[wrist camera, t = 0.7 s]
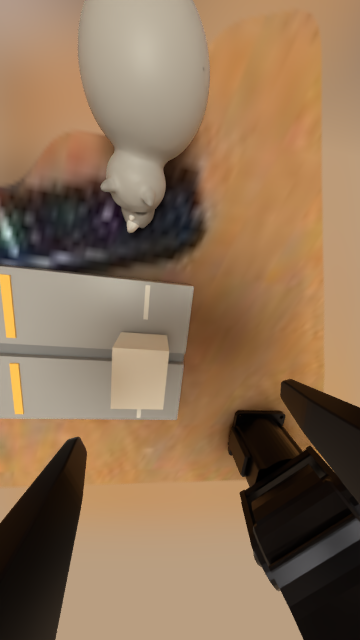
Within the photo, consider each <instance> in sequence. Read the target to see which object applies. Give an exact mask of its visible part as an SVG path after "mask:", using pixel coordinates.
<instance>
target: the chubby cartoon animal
mask: <svg viewBox="0 0 360 640" xmlns="http://www.w3.org/2000/svg"><path fill="white" fill-rule="evenodd" d="M78 58H79V59H78V60H79V68H80V75H81V80H82V84H83V88H84V92H85V95H86V98H87V101H88V104H89V107H90V109H91V111H92V114H93V115H94V117H95V119H96V121H97V123H98V125H99V126H100V128H101V130H102V131H103V132H104V134H105V135H106V136H107V138H108V139H109V140H110V141H111V143H112V144H113V146H114V148H115V151H114V154H113V155H112V156H111V158H110V160H109V162H108V165H107V171H106V180H104V182H103V183H102V184H101V189H102V190H103V191H104V192H110V193H111V195H112V197H113V199H114V201H115V202H116V203H117V204H118V205H120V206H121V209H122V213H123V216H124V218H125V221H126V222H127V230H128V232H129V233H132V232H134V231H135V230H136V229H137V228H139V227H140V228H144V227H146V226H147V225H148V224H149V223H150V222H151V221H152V219H153V216H154V211H155V209H156V208H157V206H158V205H159V204H160V202H161V201H162V199H163V197H164V194H165V189H166V181H165V176H164V172H163V168H164V165H165V164H166V163H167V162H168V161H169V160H171V159H173V158H175V157H177V156H178V155H179V154H181V153H182V152H183V151H184V150H185V149H186V148H187V147H188V145H189V144H190V143H191V141H192V140H193V138H194V137H195V135H196V133H197V131H198V129H199V127H200V125H201V122H202V119H203V116H204V113H205V110H206V105H207V100H208V94H209V83H210V65H209V54H208V47H207V41H206V36H205V32H204V28H203V25H202V22H201V19H200V16H199V13H198V11H197V8H196V6H195V4H194V2H193V0H85V2H84V4H83V8H82V12H81V17H80V23H79V30H78Z"/></svg>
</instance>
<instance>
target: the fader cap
mask: <svg viewBox="0 0 360 640" xmlns="http://www.w3.org/2000/svg"><path fill="white" fill-rule="evenodd" d="M168 359H169V346H168V339H167V335H157V334H143V333H128V332H121V333H120V335H119V337H118V338H117V340H116V342H115V344H114V346H113V347H112V375H111V409H151V410H163V406H164V396H165V387H166V377H167V368H168Z"/></svg>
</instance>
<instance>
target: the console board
mask: <svg viewBox="0 0 360 640" xmlns="http://www.w3.org/2000/svg"><path fill="white" fill-rule="evenodd" d="M193 291H194V286H192V285H190V284H182V283H173V282H164V281H154V280H145V279H136V278H126V277H117V276H107V275H98V274H89V273H79V272H70V271H61V270H51V269H42V268H33V267H23V266H14V265H4V264H0V418H13V419H136V420H177V415H178V408H179V400H180V392H181V384H182V377H183V369H184V363H183V360H184V353H186V345H187V338H188V330H189V322H190V314H191V307H192V299H193ZM121 332H128V333H143V334H157V335H167V339H168V346H169V359H168V368H167V377H166V387H165V396H164V406H163V410H151V409H111V375H112V347H113V346H114V344H115V342H116V340H117V338H118V337H119V335H120V333H121Z"/></svg>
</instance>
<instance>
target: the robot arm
mask: <svg viewBox="0 0 360 640" xmlns="http://www.w3.org/2000/svg"><path fill="white" fill-rule="evenodd" d="M280 395H281V398H282V400H283V402H284V403H285V405H286V407H287V408H288V410H289V411H290V413H291V414H292V416H293V417H294V419H295V420H296V422H297V424H298V425H299V427H300V428H301V429H302V431H303V432H304V434H305V435H306V436H307V438H308V439H309V440H310V441H311V443H312V444H313V445H314V447H315V448H316V449H317V450H318V452H319V453H320V454H321V455H322V457H323V458H324V459H325V461H326V462H327V463H328V464H329V465H330V467H331V468H332V469H331V468H330V467H329V466H328V465H327V464H326V463H325V461H324V460H323V459H322V458H321V457H320V456H319V455H318V454H317V453H316V451H315V450H314V449H313V448H312V447H311V446H309V447H307V448H306V450H305V451H302V450H301V449H300V447H299V446H298V445H297V444H296V442H295V441H294V440H293V439H292V437H291V436H290V435H289V434H288V432H287V431H286V430H285V429H284V427H283V423H284V419H285V415H284V413H283V412H274V411H238V412H237V413H236V414H235V419H234V424H233V427H232V429H231V433H230V438H229V442H228V445H229V447H228V452H229V454H230V455H233V457H234V460H235V462H236V465H237V467H238V470H239V472H240V474H241V476H242V477H246V479H247V482H248V484H249V486H250V487H249V488H248V489H246V490H243V491H241V492H240V497H241V501H242V502H241V503H242V508H243V512H244V516H245V520H246V524H247V529H248V533H249V537H250V542H251V546H252V549H253V553H254V558H255V560H256V562H257V564H258V565H259V566H261V567H262V568H263V570H264V572H265V574H266V575H267V577H268V579H269V581H270V582H271V583H272V585H273V586H274V587H275V589H276V590H278V591H280V590H281V592H282V594H283V596H284V598H285V600H286V602H287V604H288V606H289V608H290V610H291V613H292V615H293V617H294V619H295V621H296V624H297V626H298V628H299V630H300V633H301V635H302V637H303V639H304V640H360V408H359V407H357V406H355V405H352V404H350V403H347V402H345V401H342V400H340V399H338V398H335V397H333V396H331V395H328V394H326V393H323V392H321V391H319V390H316V389H314V388H311V387H309V386H307V385H304V384H302V383H299V382H297V381H295V380H292V379H288V380H284V381H282V382H281V393H280ZM240 415H241V416H240ZM86 459H87V451H86V448H85V446H84V444H83V442H82V440H81V439H80V437H75V438H71V439H69V440H67V441H66V442H65V444H64V445H63V446H62V447H61V449H60V450H59V451H58V452H57V453H56V455H55V456H54V457H53V458H52V460H51V461H50V462H49V463H48V465H47V466H46V467H45V468H44V470H43V471H42V472H41V473H40V475H39V476H38V477H37V478H36V479H35V481H34V482H33V483H32V484H31V486H30V487H29V488H28V489H27V491H26V492H25V493H24V494H23V496H22V497H21V498H20V499H19V501H18V502H17V503H16V504H15V505H14V507H13V508H12V509H11V510H10V512H9V513H8V514H7V515H6V517H5V518H4V519H3V520H2V522H1V523H0V640H55V639H56V633H57V628H58V623H59V618H60V613H61V608H62V603H63V597H64V592H65V587H66V582H67V577H68V572H69V566H70V561H71V556H72V551H73V546H74V540H75V536H76V530H77V525H78V520H79V515H80V510H81V504H82V497H83V488H84V479H85V469H86Z"/></svg>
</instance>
